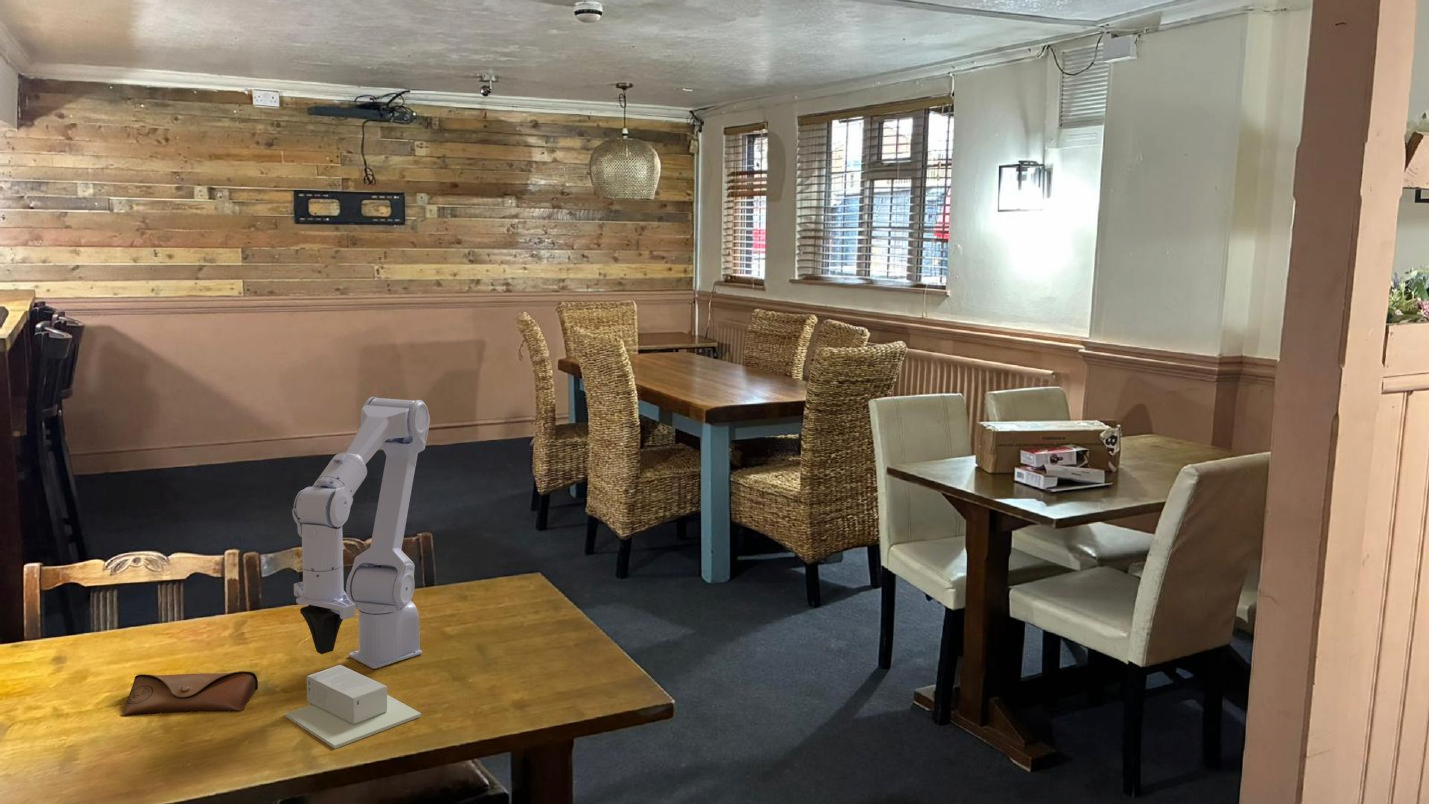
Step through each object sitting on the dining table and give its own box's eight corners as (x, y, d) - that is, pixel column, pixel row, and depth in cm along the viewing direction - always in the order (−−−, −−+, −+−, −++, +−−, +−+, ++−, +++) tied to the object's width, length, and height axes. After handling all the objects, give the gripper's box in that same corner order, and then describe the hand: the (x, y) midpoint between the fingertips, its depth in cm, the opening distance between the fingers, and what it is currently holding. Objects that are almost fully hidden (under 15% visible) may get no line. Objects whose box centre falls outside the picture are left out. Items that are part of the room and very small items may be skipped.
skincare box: (306, 702, 159) (352, 726, 152) (305, 675, 158) (352, 698, 151) (341, 689, 164) (388, 711, 157) (341, 663, 163) (388, 685, 156)
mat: (370, 688, 166) (370, 685, 166) (421, 716, 157) (421, 713, 157) (285, 716, 155) (285, 713, 155) (334, 748, 146) (334, 745, 146)
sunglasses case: (114, 717, 153) (120, 670, 155) (130, 722, 159) (136, 677, 162) (246, 711, 156) (250, 665, 159) (256, 716, 163) (260, 672, 165)
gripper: (273, 560, 159) (276, 645, 161) (323, 583, 150) (325, 673, 152) (317, 550, 164) (319, 633, 167) (367, 572, 155) (369, 659, 157)
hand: (325, 651), depth 160 cm, fingers closed
